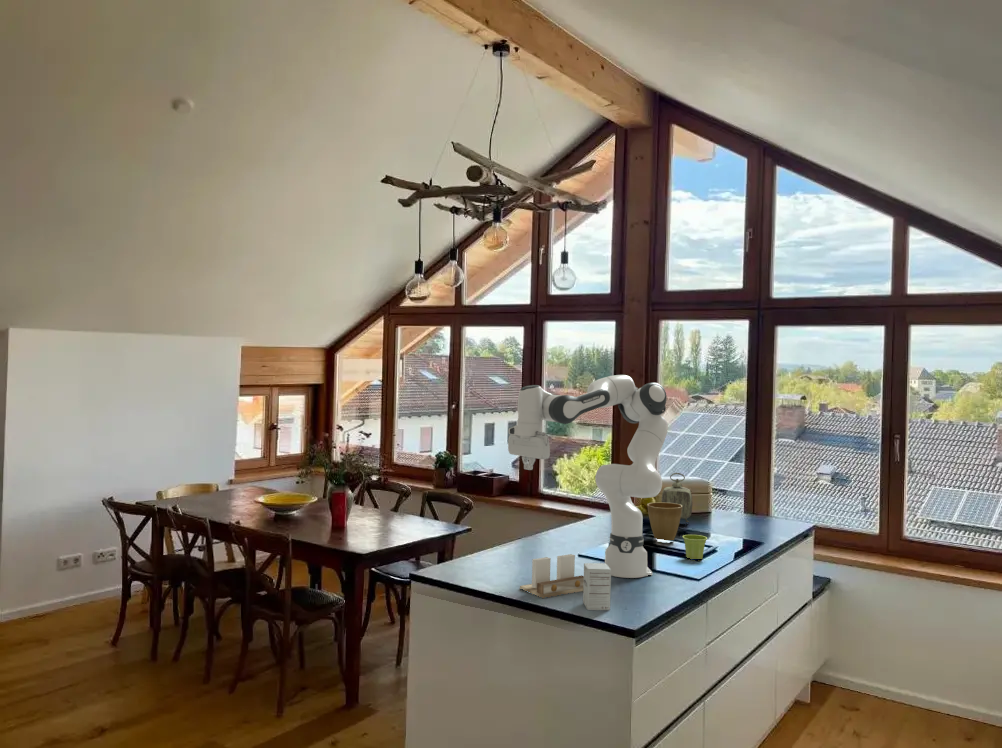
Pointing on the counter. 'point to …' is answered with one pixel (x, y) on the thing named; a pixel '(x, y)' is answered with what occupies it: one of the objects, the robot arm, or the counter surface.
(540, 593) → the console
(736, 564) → the counter surface
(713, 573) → the counter surface
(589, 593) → the supplement box
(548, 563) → the white rectangular block
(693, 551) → the plant pot
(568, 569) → the block
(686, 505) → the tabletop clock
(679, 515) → the plant pot
